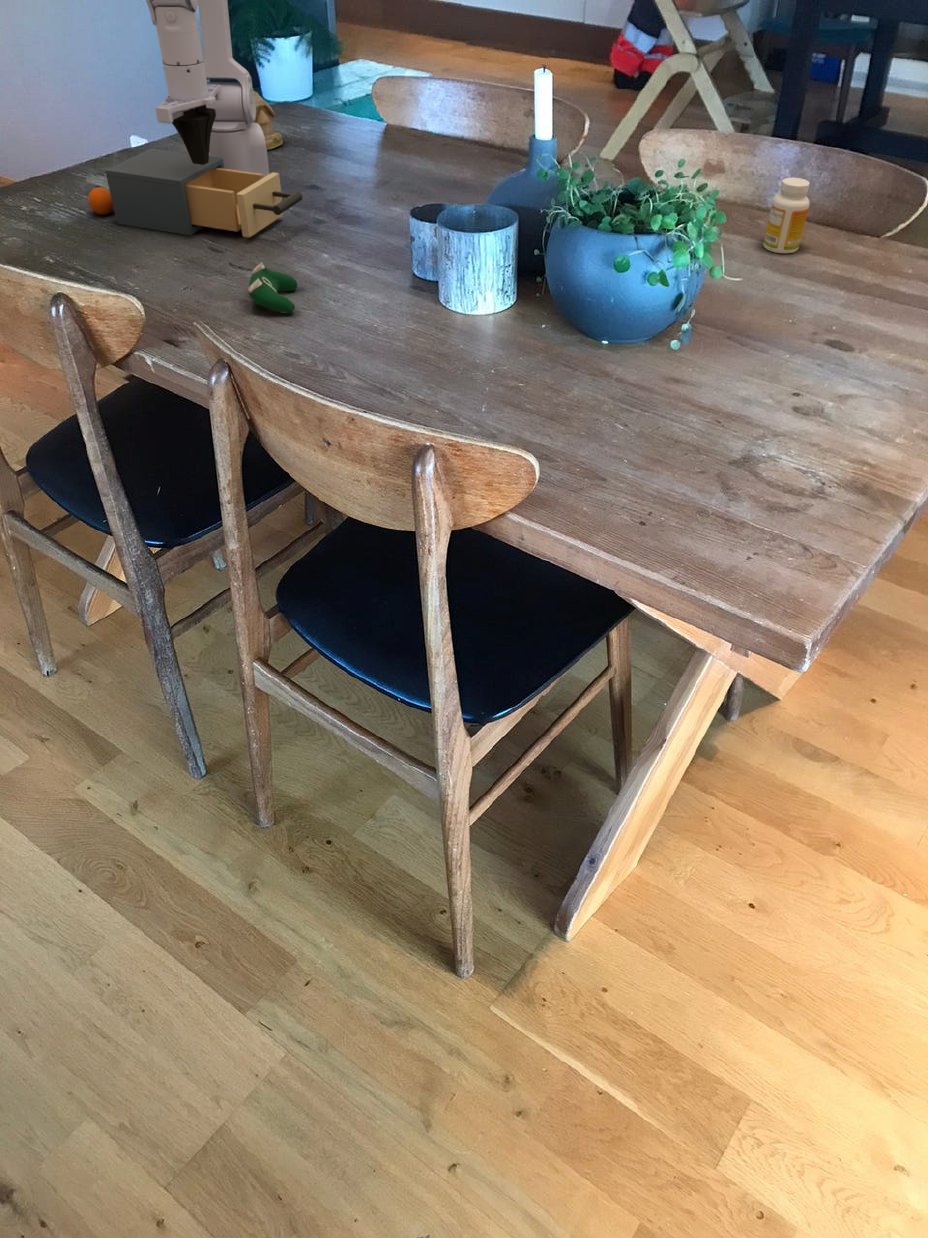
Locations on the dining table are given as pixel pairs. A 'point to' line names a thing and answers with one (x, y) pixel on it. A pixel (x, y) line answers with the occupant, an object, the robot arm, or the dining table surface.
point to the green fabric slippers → (271, 289)
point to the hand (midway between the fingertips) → (200, 162)
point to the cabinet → (156, 190)
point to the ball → (100, 200)
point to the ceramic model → (266, 122)
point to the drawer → (237, 200)
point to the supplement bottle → (787, 216)
